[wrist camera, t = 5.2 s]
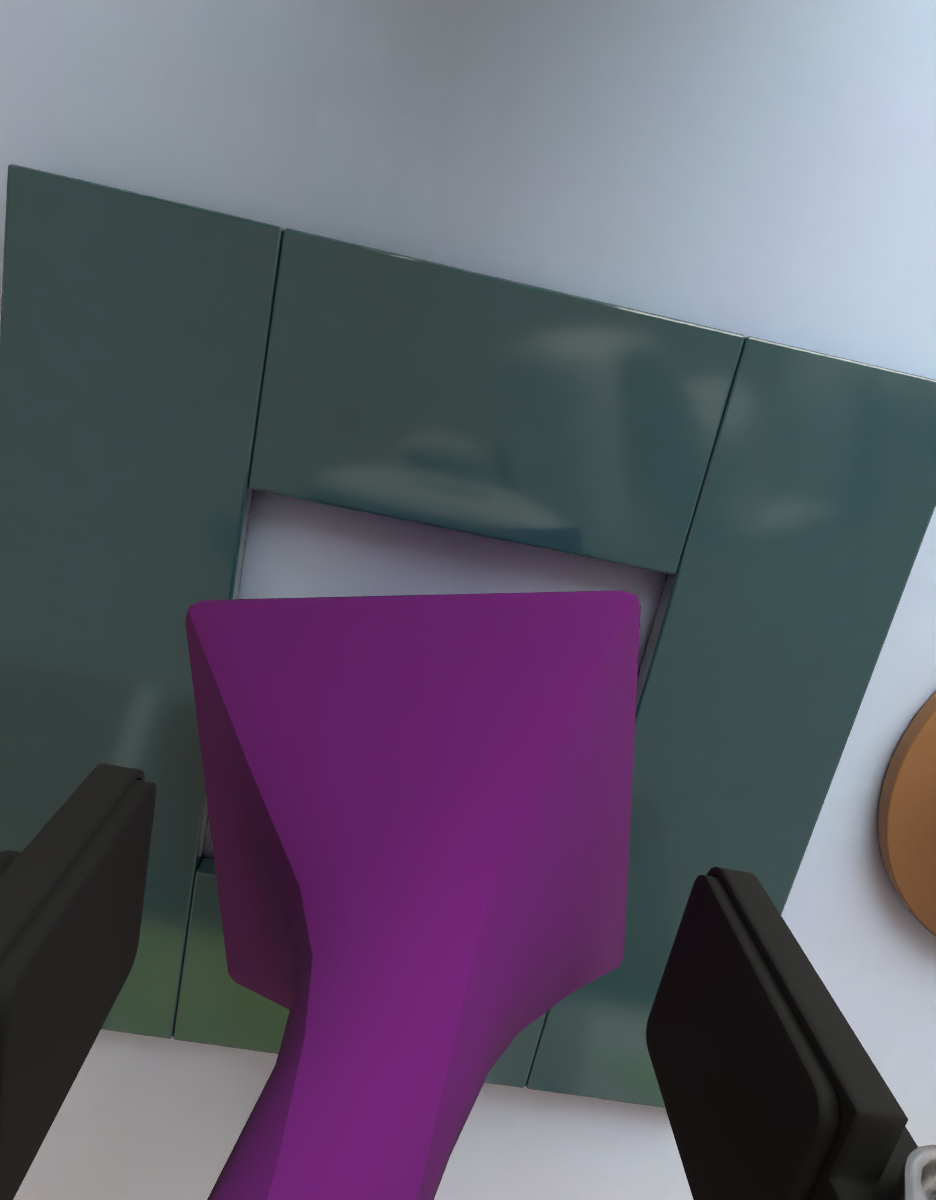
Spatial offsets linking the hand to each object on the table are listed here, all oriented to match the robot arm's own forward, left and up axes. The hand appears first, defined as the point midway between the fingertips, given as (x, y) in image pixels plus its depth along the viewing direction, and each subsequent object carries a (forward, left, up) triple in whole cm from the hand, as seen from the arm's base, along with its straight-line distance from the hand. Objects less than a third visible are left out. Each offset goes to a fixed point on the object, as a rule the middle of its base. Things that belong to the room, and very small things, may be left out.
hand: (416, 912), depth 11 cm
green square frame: (0, 0, -6) cm, 6 cm away
